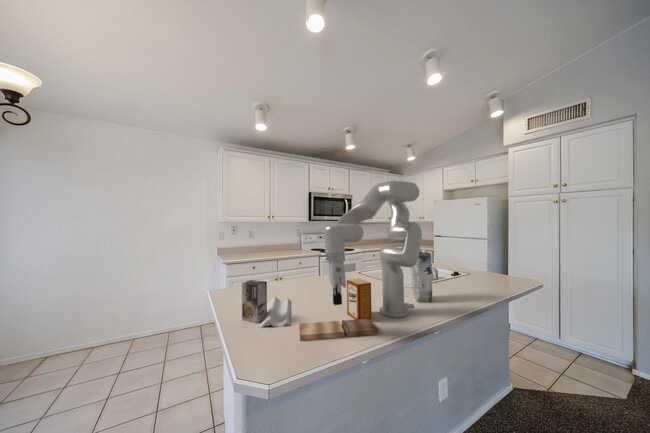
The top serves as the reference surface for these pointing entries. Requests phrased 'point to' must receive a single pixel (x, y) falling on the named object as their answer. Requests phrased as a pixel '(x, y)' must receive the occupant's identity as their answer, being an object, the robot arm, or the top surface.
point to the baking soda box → (359, 299)
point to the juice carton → (422, 277)
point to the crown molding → (277, 313)
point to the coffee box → (254, 300)
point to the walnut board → (359, 327)
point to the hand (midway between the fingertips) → (337, 304)
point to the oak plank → (320, 330)
